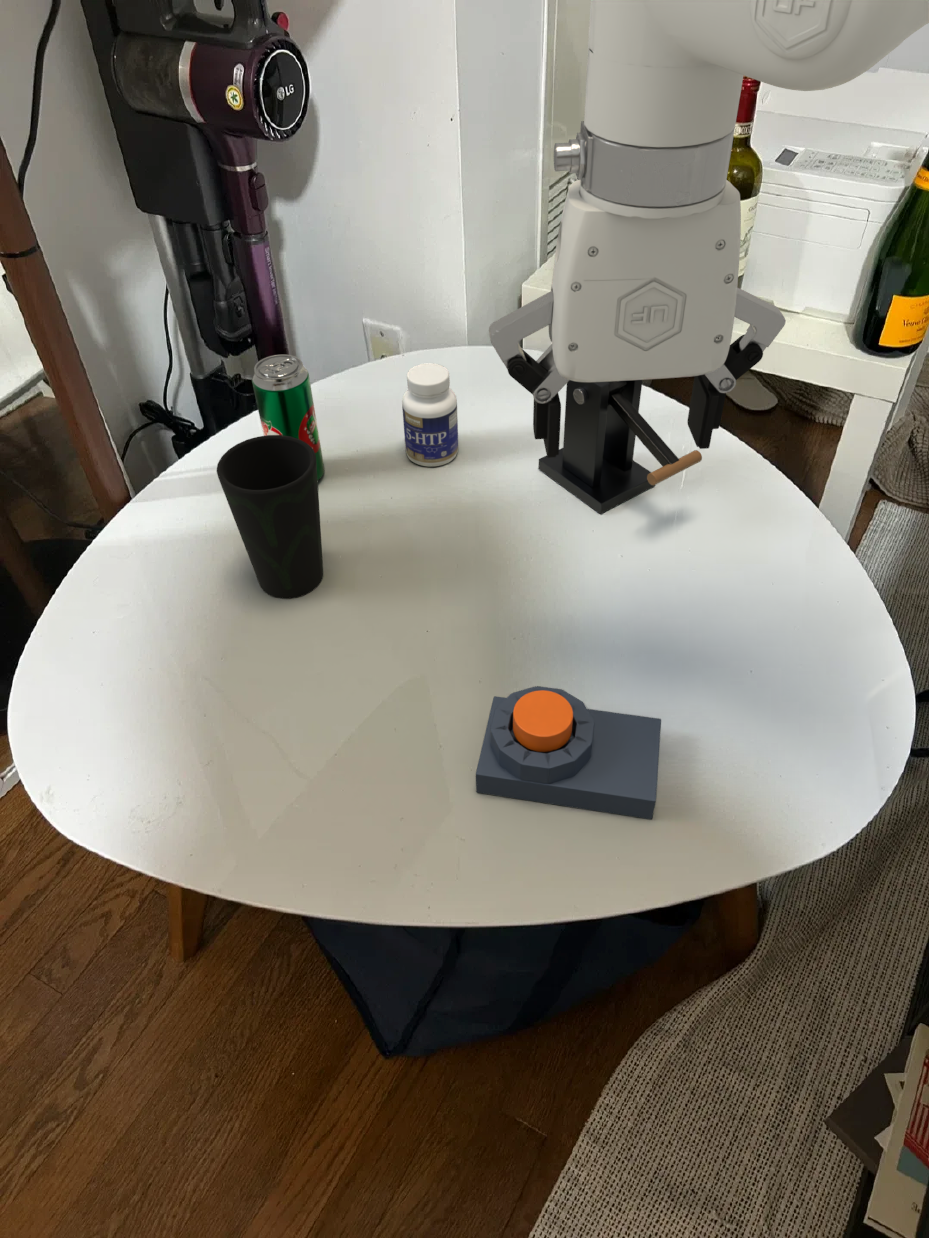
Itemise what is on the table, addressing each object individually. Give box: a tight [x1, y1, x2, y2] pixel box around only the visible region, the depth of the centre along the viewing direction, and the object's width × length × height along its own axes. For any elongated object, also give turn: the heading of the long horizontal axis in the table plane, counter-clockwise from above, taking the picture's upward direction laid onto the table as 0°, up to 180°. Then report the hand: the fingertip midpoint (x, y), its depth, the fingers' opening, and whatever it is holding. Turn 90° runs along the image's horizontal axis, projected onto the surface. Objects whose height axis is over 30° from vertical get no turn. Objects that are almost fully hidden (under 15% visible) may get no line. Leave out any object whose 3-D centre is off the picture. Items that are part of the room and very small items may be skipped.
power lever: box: [608, 381, 703, 486], centre depth 80 cm, size 12×6×2 cm, turn 36°
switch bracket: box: [537, 380, 656, 515], centre depth 84 cm, size 9×7×12 cm
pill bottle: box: [401, 362, 459, 467], centre depth 89 cm, size 5×5×9 cm
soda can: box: [251, 354, 325, 481], centre depth 86 cm, size 5×5×12 cm
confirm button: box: [513, 690, 573, 752], centre depth 62 cm, size 4×4×2 cm
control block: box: [475, 685, 662, 820], centre depth 64 cm, size 12×7×4 cm, turn 79°
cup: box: [216, 435, 324, 600], centre depth 76 cm, size 8×8×12 cm
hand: (623, 441), depth 60 cm, fingers open, 9 cm apart
